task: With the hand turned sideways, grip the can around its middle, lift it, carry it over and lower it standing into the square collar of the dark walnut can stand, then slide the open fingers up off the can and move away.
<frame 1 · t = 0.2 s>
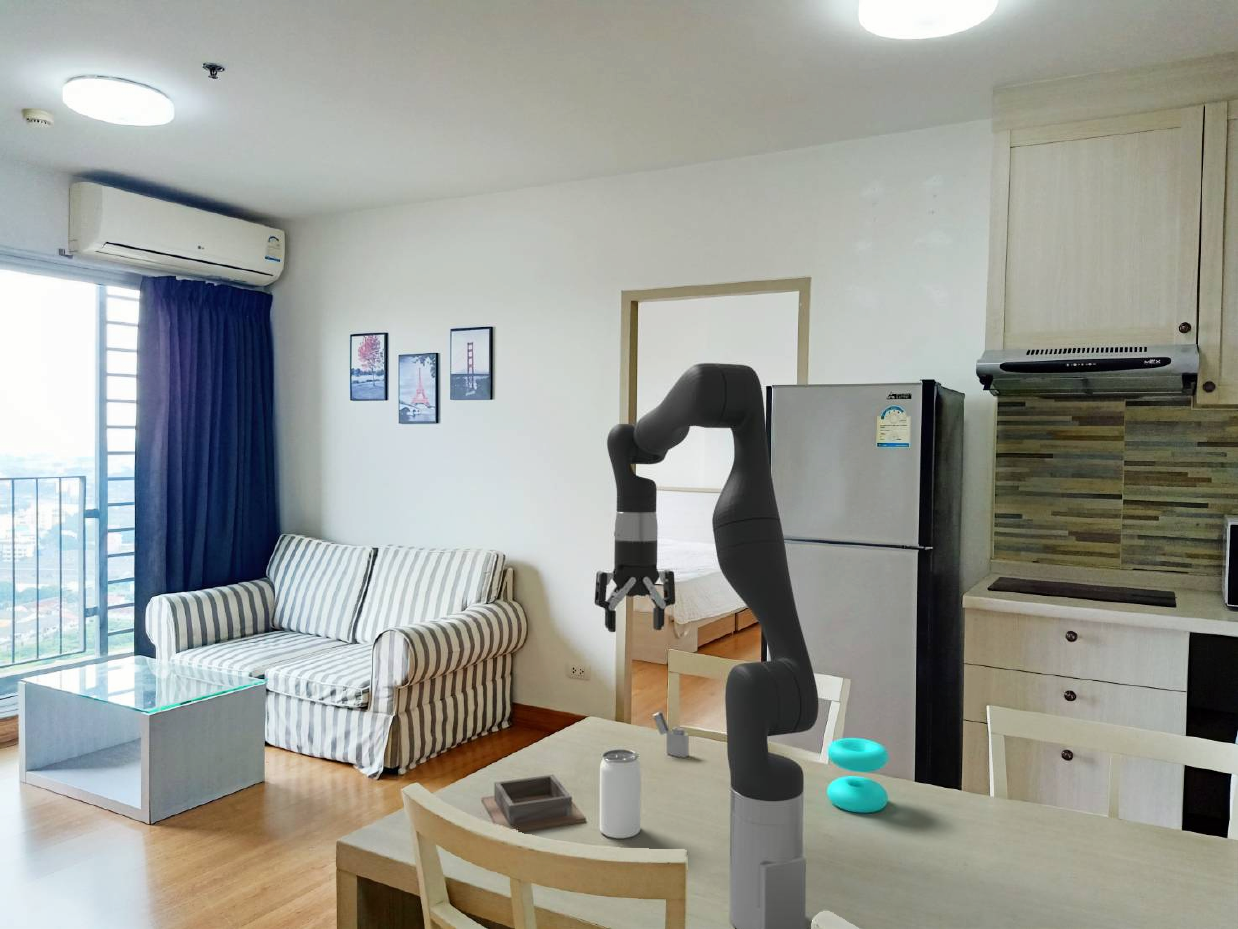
hand: (634, 630, 153), 29 cm above the table, tool pointing down, fingers open, 8 cm apart
donuts: (857, 804, 149), on the table
can stand: (532, 811, 145), on the table
lighter: (670, 754, 173), on the table
can: (619, 832, 138), on the table
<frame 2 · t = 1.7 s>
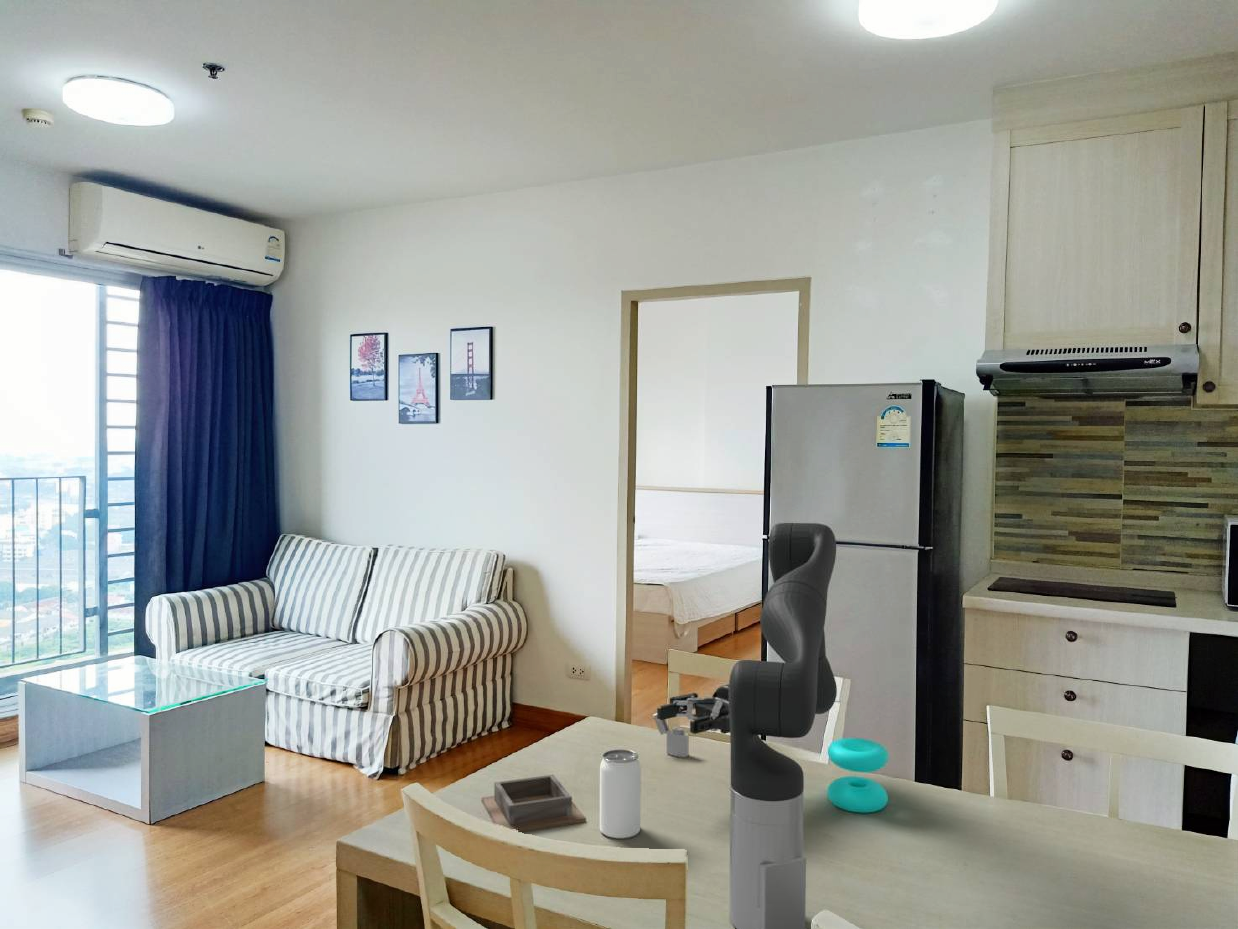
hand: (674, 720, 144), 16 cm above the table, tool horizontal, fingers open, 8 cm apart
nothing on the table moved.
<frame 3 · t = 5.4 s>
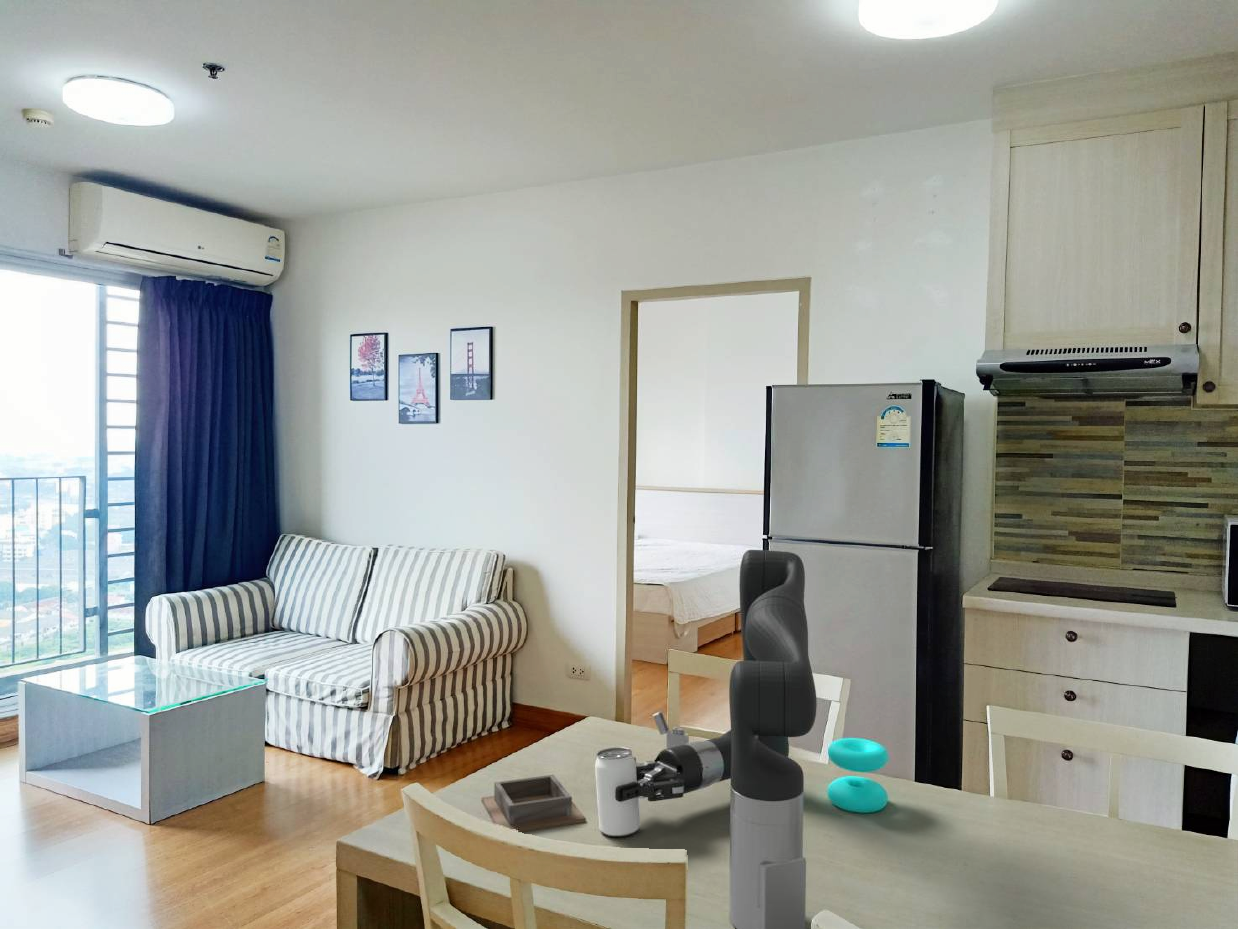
hand: (607, 789, 136), 7 cm above the table, tool horizontal, fingers open, 4 cm apart
can: (620, 830, 138), on the table, touching gripper
everything else where it was.
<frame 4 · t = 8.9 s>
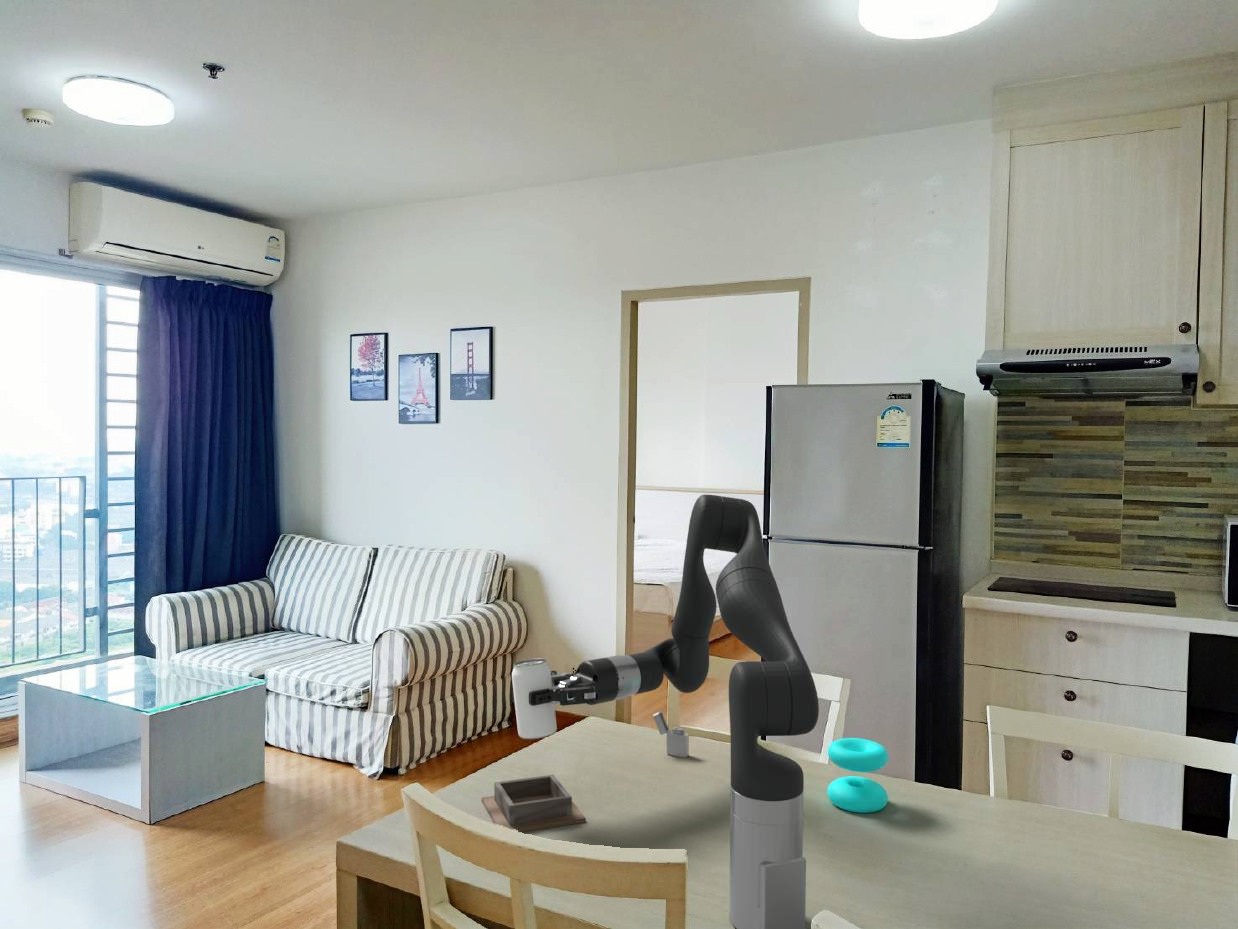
hand: (523, 695, 143), 20 cm above the table, tool horizontal, fingers closed on can, 4 cm apart
can: (538, 735, 145), point 13 cm above the table, touching gripper
everything else where it was.
when the fingers open (8 cm above the table, at t = 12.1 s): can stays where it is, resting on can stand.
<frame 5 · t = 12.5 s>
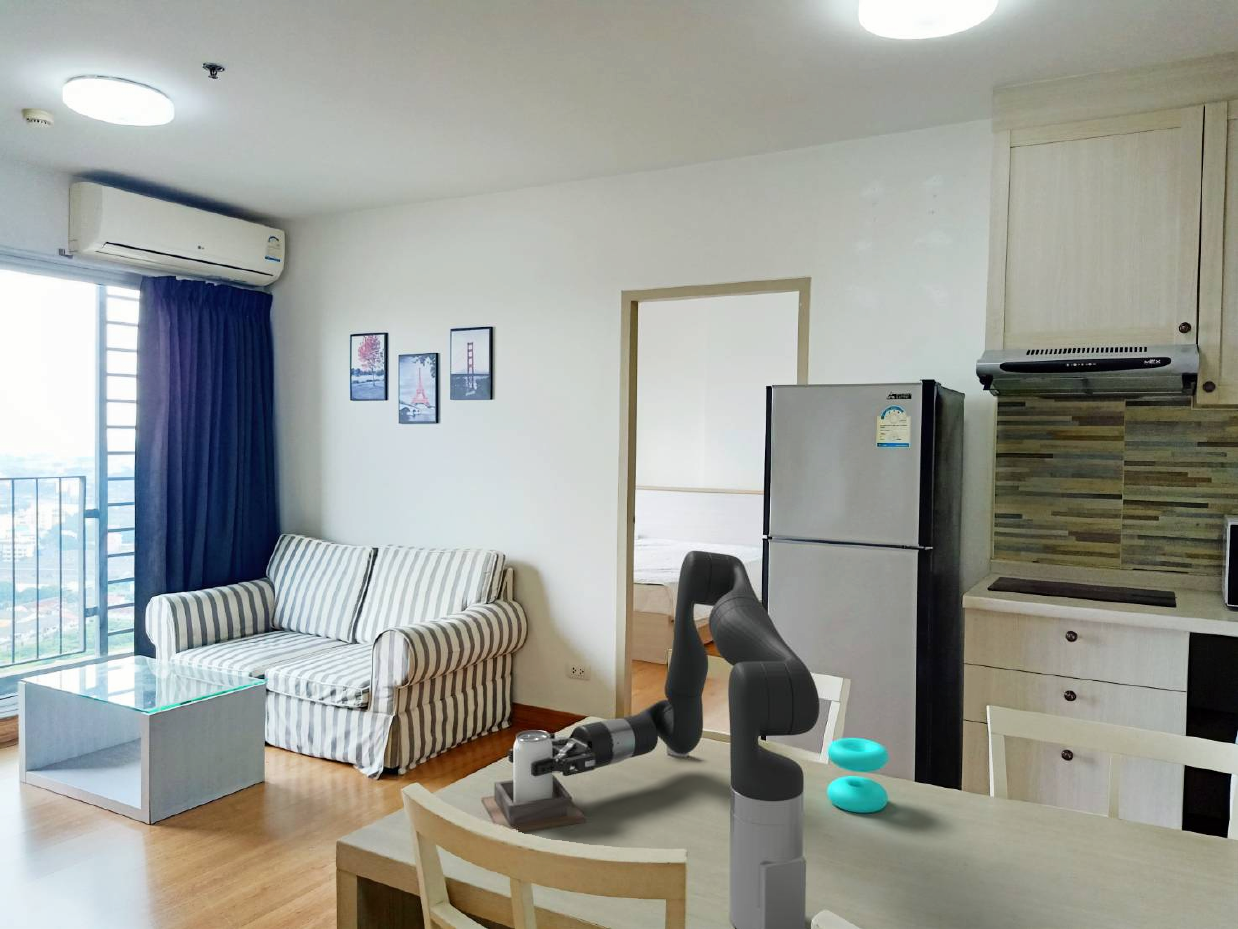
hand: (520, 762, 144), 9 cm above the table, tool horizontal, fingers open, 7 cm apart
can: (533, 808, 145), resting on can stand
everything else where it was.
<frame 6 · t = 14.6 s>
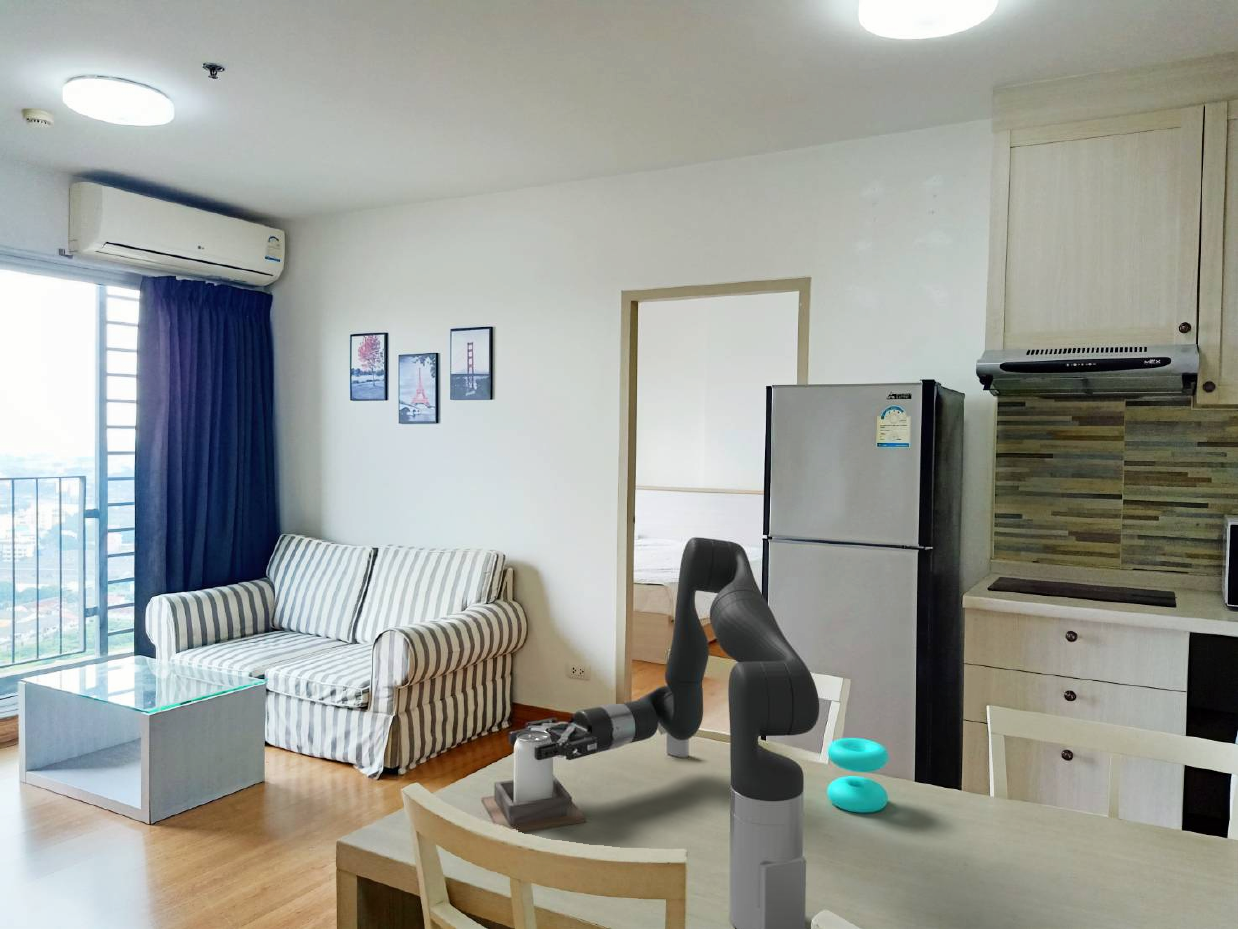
hand: (522, 746, 144), 11 cm above the table, tool horizontal, fingers open, 8 cm apart
nothing on the table moved.
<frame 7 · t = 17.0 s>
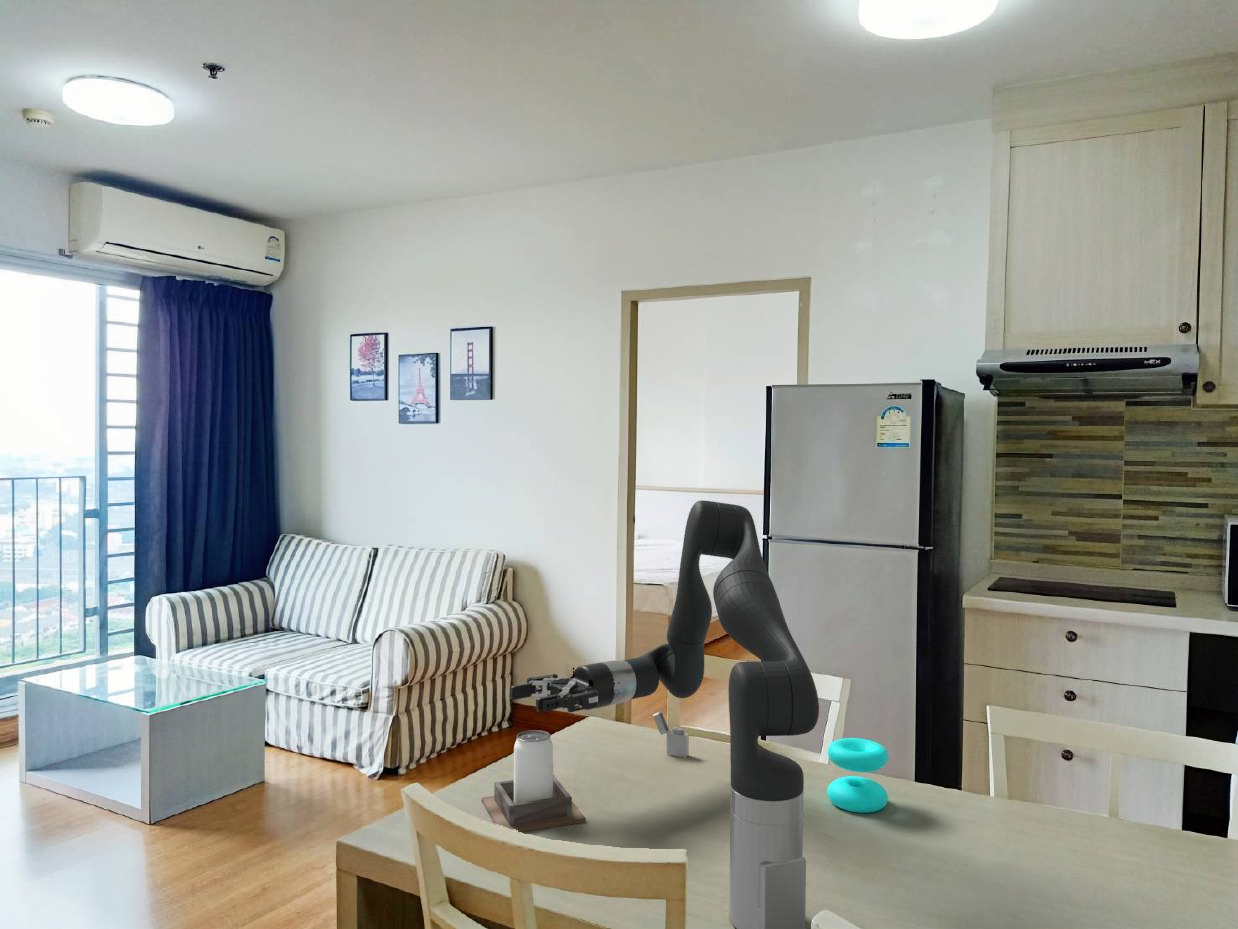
hand: (523, 699, 144), 19 cm above the table, tool horizontal, fingers open, 8 cm apart
nothing on the table moved.
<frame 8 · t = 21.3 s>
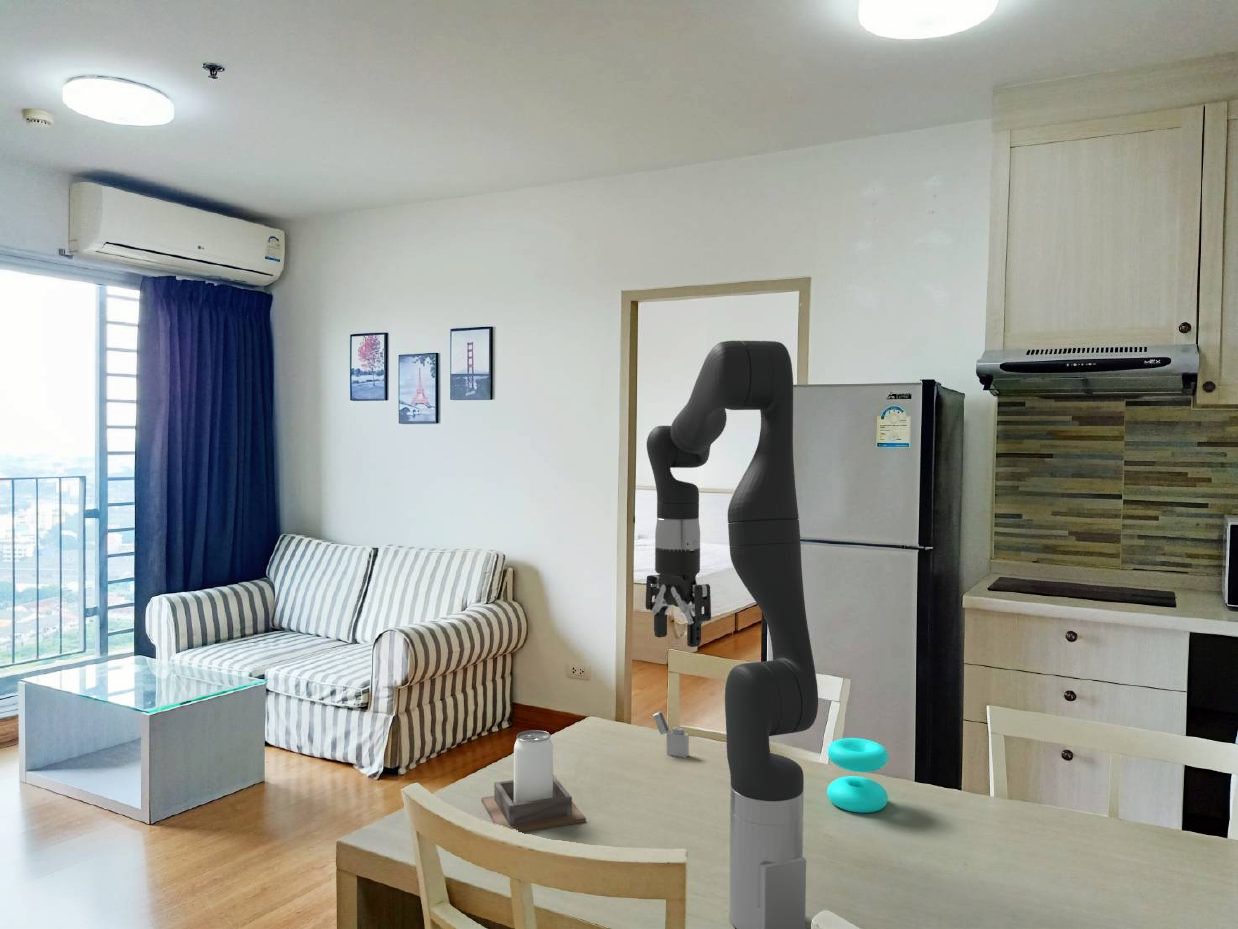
hand: (676, 641, 147), 28 cm above the table, tool pointing down, fingers open, 8 cm apart
nothing on the table moved.
at the end: can 0.2 cm off-centre on the can stand, point 0.4 cm above the can stand's base; can tilted 0°; the gripper is holding nothing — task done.
